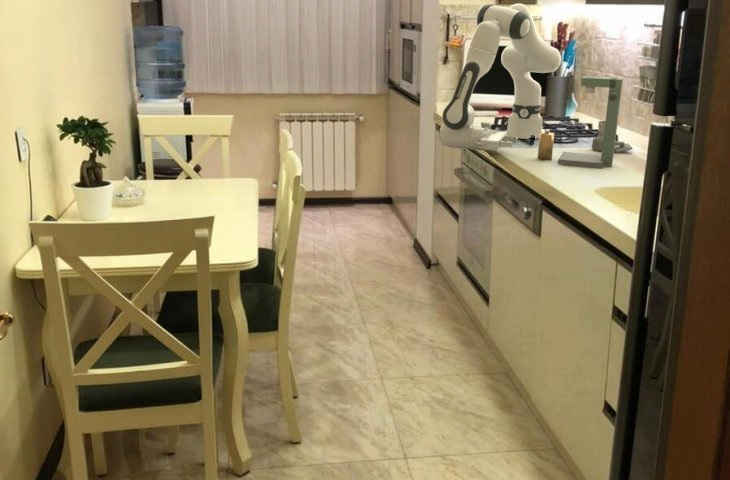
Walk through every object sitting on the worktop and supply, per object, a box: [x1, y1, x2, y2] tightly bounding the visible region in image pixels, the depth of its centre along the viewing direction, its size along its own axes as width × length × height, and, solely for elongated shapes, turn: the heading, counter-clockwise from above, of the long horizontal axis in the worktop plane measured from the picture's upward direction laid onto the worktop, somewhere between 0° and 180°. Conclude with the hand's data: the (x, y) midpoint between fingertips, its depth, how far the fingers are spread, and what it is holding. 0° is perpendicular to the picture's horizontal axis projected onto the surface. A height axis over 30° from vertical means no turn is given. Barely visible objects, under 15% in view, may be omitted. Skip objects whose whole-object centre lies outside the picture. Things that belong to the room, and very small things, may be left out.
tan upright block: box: [537, 128, 555, 161], centre depth 288 cm, size 5×5×12 cm
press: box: [557, 75, 624, 169], centre depth 277 cm, size 20×19×32 cm
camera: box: [591, 120, 634, 154], centre depth 303 cm, size 9×12×15 cm
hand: (514, 142), depth 292 cm, fingers open, 8 cm apart
